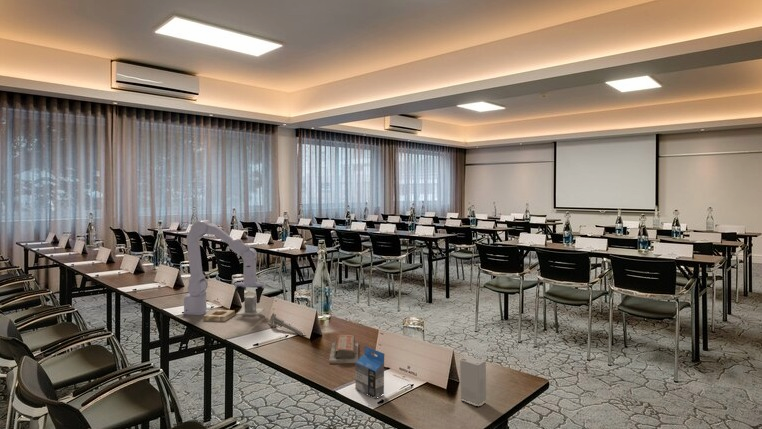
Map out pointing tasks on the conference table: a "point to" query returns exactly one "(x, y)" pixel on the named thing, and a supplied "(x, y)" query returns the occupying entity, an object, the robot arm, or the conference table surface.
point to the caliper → (282, 324)
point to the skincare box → (473, 380)
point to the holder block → (219, 315)
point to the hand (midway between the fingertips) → (250, 302)
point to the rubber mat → (249, 312)
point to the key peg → (250, 303)
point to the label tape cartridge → (370, 373)
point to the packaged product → (344, 350)
